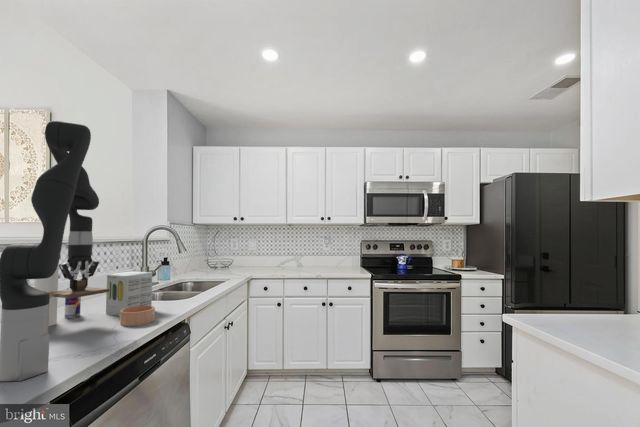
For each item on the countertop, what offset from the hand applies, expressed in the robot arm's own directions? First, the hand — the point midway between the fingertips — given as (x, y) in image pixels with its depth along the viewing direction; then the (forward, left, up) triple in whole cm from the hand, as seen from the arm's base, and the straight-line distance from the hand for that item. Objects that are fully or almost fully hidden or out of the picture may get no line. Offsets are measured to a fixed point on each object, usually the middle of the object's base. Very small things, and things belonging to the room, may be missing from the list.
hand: (78, 288), depth 125 cm
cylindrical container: (+16, +2, -15) cm, 22 cm away
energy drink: (+19, -10, -15) cm, 26 cm away
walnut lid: (0, 0, -2) cm, 2 cm away
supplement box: (+3, -24, -15) cm, 28 cm away
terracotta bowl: (-14, -14, -15) cm, 25 cm away
